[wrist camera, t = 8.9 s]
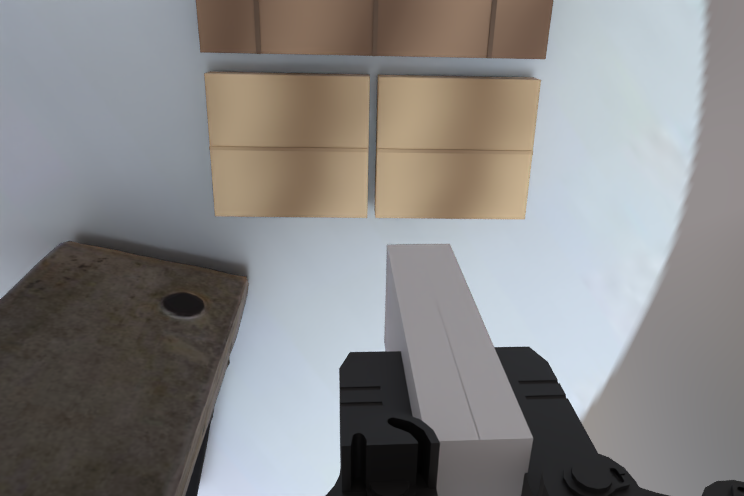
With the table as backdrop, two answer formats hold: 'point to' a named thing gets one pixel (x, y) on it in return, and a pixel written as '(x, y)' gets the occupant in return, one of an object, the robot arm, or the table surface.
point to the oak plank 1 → (288, 143)
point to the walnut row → (377, 27)
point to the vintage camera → (112, 373)
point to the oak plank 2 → (454, 146)
